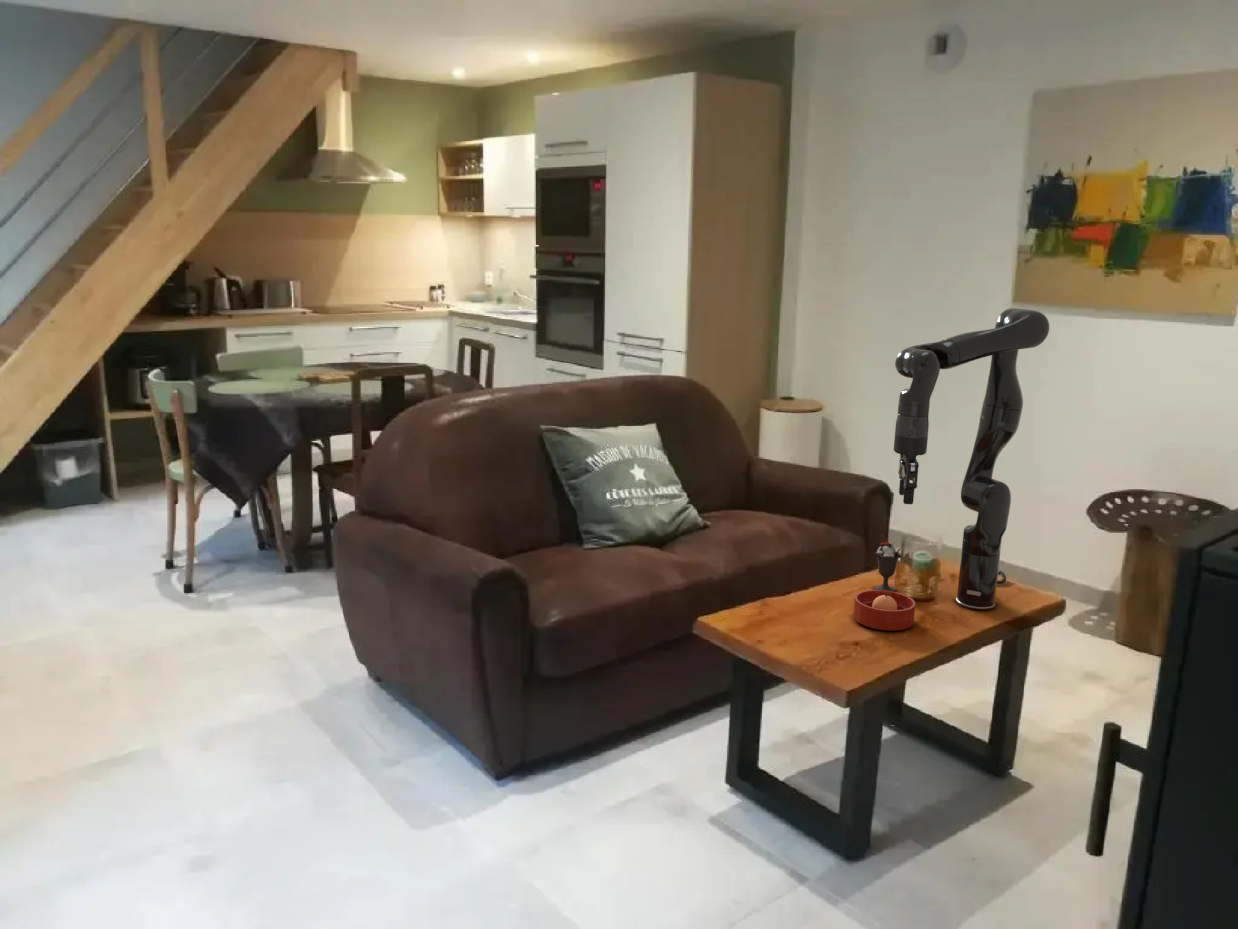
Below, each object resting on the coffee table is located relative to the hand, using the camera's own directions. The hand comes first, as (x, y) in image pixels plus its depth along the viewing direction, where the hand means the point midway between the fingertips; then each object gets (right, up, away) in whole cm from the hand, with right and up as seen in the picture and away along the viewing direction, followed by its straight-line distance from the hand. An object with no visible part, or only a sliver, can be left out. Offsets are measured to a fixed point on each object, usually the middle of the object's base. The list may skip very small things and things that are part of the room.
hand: (905, 499), depth 233 cm
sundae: (+2, -25, +25) cm, 36 cm away
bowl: (-4, -30, +4) cm, 31 cm away
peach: (-4, -29, +4) cm, 30 cm away
